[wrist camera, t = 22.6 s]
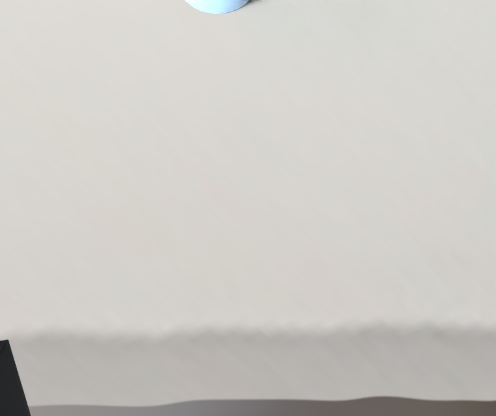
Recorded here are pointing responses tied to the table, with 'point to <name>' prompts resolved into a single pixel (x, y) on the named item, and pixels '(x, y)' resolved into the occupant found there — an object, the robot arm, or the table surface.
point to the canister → (217, 5)
